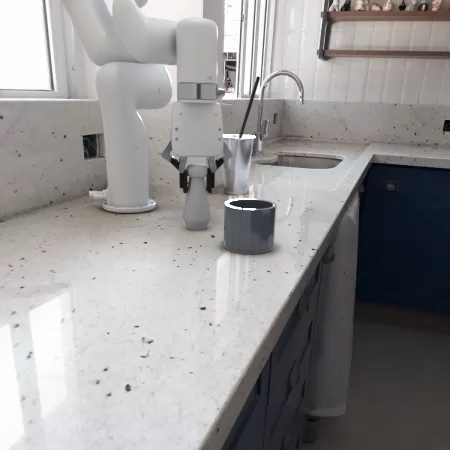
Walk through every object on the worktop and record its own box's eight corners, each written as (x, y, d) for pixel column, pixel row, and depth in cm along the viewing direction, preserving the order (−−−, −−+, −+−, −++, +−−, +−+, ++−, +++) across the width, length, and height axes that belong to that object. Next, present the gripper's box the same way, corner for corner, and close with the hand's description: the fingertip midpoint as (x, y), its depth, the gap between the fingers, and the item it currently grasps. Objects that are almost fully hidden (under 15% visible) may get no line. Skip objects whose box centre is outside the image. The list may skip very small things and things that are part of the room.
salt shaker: (189, 232, 97) (189, 166, 92) (178, 226, 102) (177, 162, 97) (215, 229, 100) (216, 165, 95) (203, 223, 105) (204, 161, 99)
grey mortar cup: (228, 255, 85) (230, 210, 82) (220, 240, 93) (221, 198, 90) (279, 253, 86) (282, 209, 83) (266, 239, 95) (268, 198, 91)
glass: (253, 197, 131) (259, 76, 119) (213, 195, 133) (215, 75, 121) (259, 190, 141) (265, 77, 129) (221, 188, 143) (224, 76, 131)
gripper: (236, 95, 96) (234, 188, 103) (151, 93, 93) (154, 188, 100) (244, 95, 89) (241, 195, 96) (152, 93, 86) (156, 196, 93)
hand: (197, 190), depth 98 cm, fingers closed on salt shaker, 4 cm apart
